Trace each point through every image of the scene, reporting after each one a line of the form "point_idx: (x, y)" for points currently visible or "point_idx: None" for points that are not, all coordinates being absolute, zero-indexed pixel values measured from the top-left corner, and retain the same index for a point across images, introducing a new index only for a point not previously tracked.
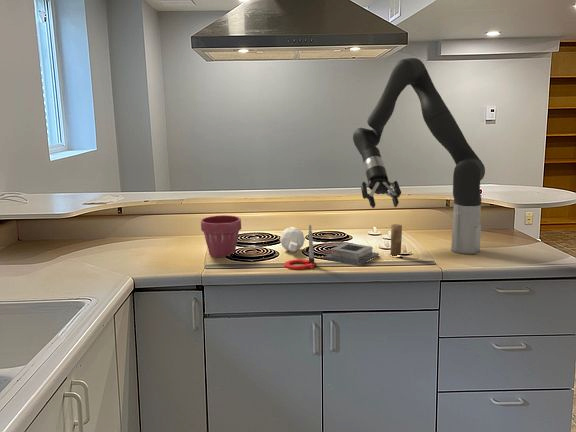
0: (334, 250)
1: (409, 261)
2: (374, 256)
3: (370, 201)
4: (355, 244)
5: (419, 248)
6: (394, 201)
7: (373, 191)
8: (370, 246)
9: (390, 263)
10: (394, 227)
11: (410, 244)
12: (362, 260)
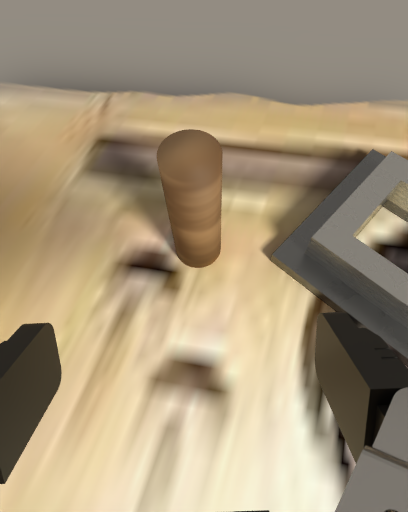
0: None
1: None
2: (299, 226)
3: (394, 358)
4: (395, 290)
5: None
6: (30, 375)
7: (401, 464)
8: (320, 242)
9: (251, 167)
10: (212, 140)
11: (25, 448)
12: (362, 173)
